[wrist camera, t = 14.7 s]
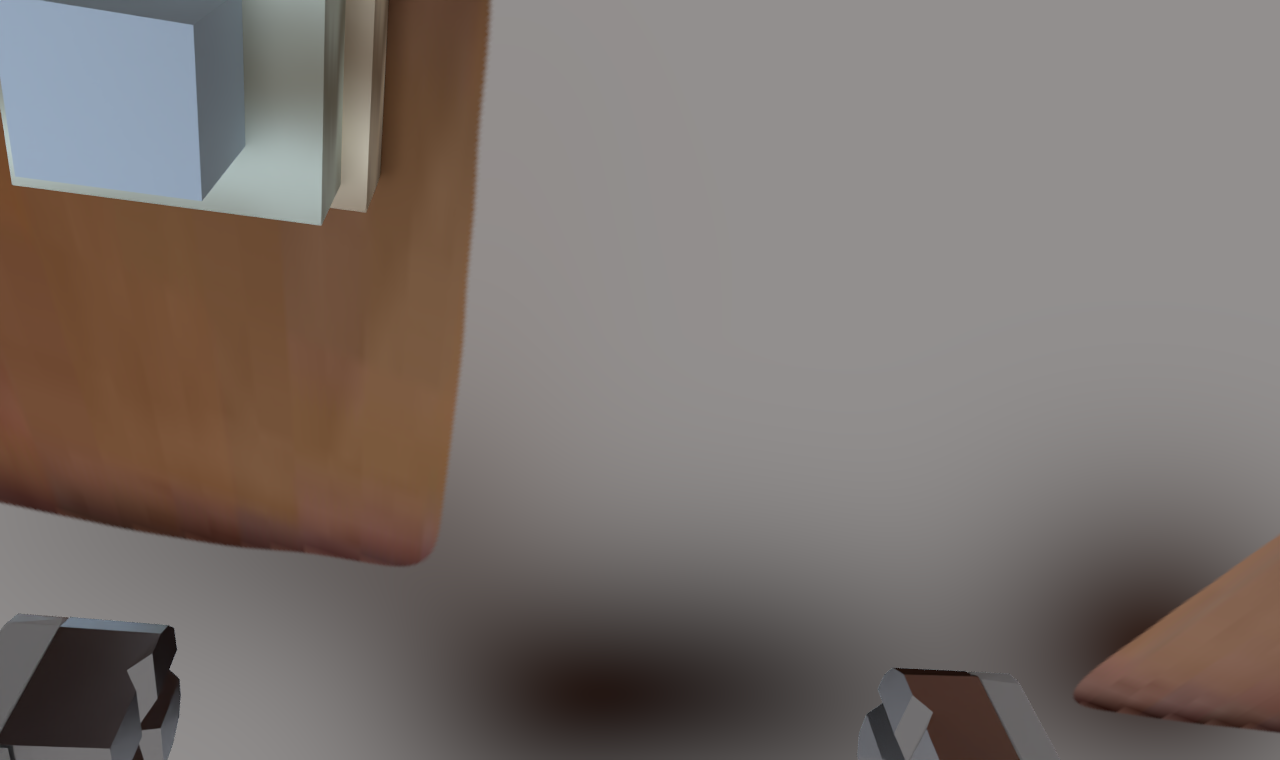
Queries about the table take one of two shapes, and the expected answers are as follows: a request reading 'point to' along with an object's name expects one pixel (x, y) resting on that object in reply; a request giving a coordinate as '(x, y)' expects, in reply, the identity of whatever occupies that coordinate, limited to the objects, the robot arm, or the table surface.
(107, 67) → the slate brick
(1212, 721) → the table surface
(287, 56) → the cream stepped block
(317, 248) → the table surface
